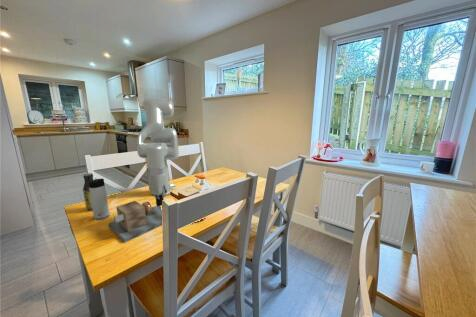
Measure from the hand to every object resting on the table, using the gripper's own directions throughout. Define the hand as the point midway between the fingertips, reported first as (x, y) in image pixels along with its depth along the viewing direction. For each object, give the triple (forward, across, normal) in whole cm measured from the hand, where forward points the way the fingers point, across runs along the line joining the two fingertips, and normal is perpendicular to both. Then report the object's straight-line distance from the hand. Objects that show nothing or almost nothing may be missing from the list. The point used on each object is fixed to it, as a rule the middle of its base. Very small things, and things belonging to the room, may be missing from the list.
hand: (160, 205), depth 98 cm
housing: (+5, 0, -9) cm, 10 cm away
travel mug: (+6, -20, -20) cm, 29 cm away
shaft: (+2, 0, -13) cm, 13 cm away
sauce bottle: (+6, -34, -20) cm, 40 cm away
